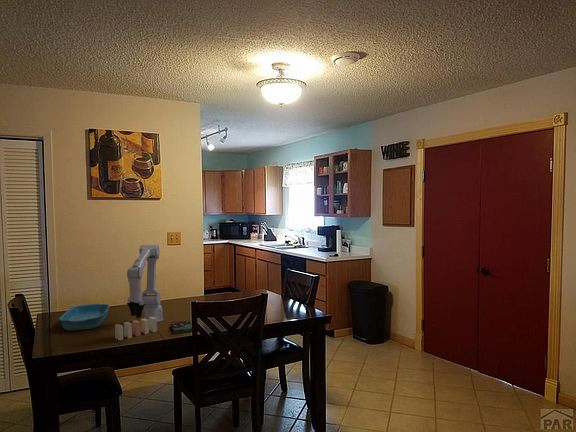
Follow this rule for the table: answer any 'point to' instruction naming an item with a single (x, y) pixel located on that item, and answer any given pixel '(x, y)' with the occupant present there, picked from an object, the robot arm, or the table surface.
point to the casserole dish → (84, 316)
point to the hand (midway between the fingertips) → (136, 316)
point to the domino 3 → (136, 328)
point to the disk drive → (181, 327)
